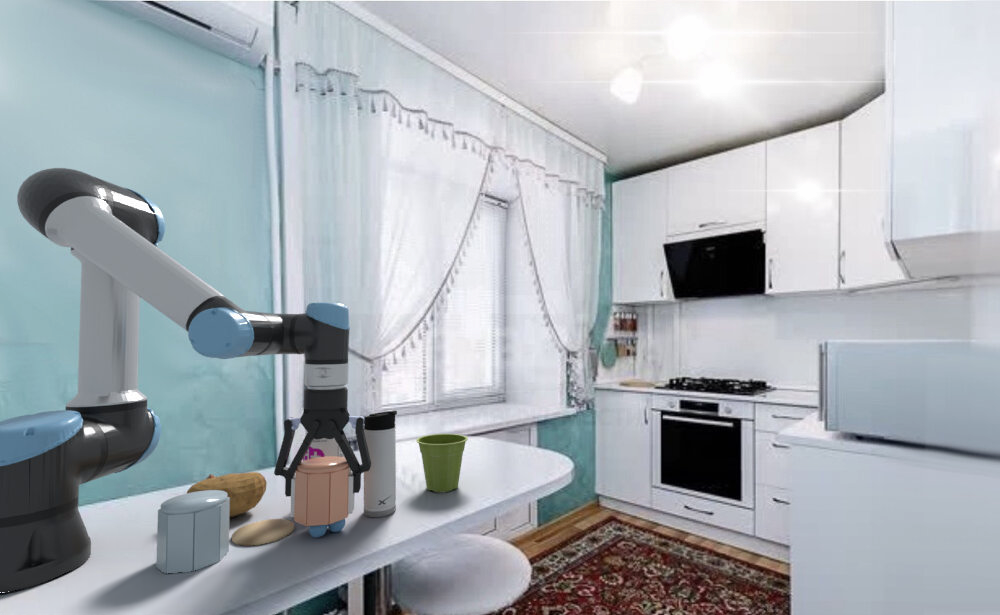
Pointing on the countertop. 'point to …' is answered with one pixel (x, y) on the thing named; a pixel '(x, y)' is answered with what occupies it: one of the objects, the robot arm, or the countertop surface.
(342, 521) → the marble
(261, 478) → the potato
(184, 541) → the grey domed faceted canister
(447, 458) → the plant pot
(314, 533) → the marble
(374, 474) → the travel mug
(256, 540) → the coaster
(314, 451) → the supplement can
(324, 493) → the peach domed octagonal part
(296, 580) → the countertop surface
